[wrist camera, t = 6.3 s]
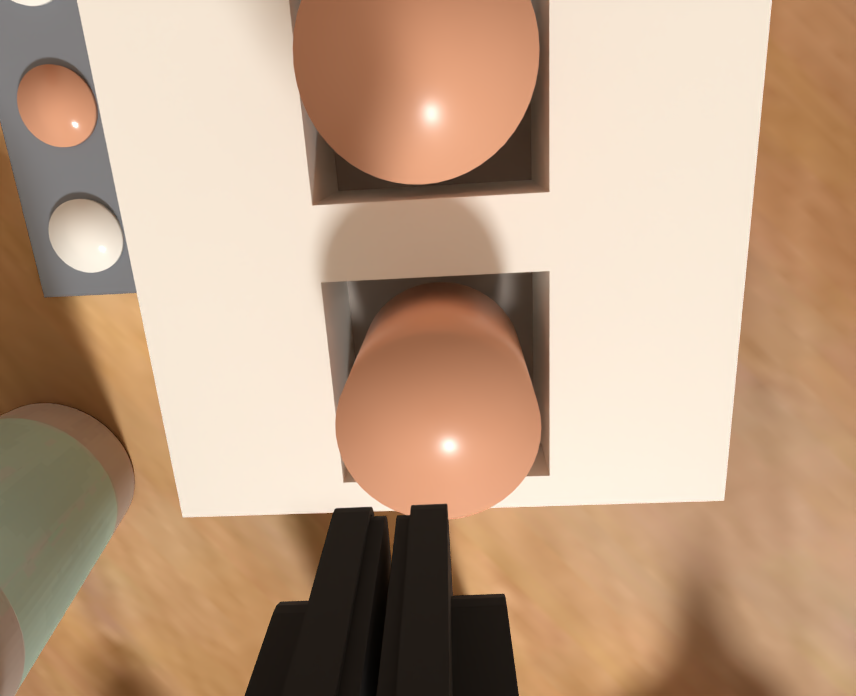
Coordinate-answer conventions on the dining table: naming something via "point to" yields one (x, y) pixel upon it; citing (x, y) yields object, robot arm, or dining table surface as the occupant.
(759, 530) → the dining table surface
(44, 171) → the pattern tile
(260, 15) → the board
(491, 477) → the button
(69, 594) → the coffee cup
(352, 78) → the button
